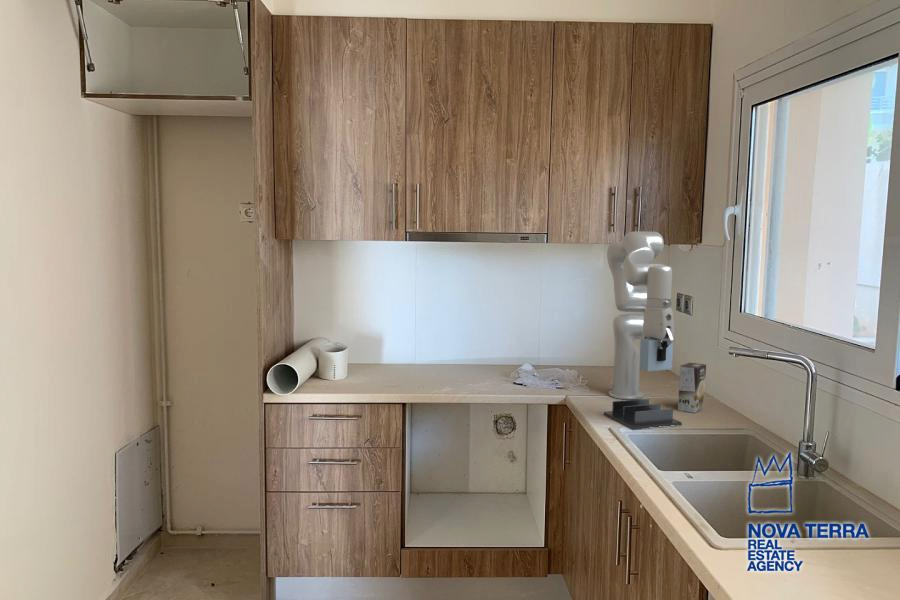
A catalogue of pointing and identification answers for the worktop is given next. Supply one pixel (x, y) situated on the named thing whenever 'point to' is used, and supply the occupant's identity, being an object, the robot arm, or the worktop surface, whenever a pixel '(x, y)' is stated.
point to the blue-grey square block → (654, 355)
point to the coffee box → (692, 387)
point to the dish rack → (641, 414)
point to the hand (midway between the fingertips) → (656, 358)
